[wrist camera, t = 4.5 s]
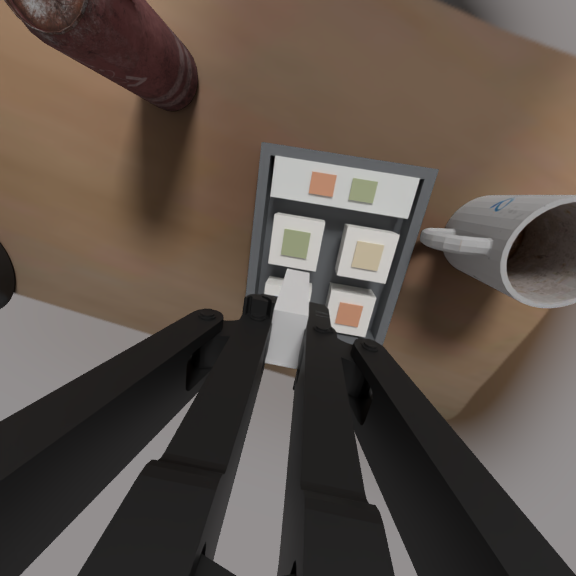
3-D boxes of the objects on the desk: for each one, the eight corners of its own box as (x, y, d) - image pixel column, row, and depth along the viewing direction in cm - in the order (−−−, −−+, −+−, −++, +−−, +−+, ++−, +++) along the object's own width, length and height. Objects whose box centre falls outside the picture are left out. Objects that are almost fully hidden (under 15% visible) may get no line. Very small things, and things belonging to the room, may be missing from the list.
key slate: (264, 313, 32) (259, 325, 30) (269, 275, 31) (265, 283, 28) (304, 321, 32) (303, 333, 29) (311, 283, 31) (311, 292, 28)
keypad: (248, 313, 35) (241, 325, 32) (267, 147, 28) (261, 141, 25) (375, 337, 34) (382, 351, 31) (426, 172, 28) (440, 169, 24)
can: (211, 99, 27) (115, 11, 14) (158, 120, 28) (23, 56, 15) (188, 29, 26) (55, -147, 12) (132, 54, 27) (-44, -82, 14)
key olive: (272, 257, 30) (267, 263, 27) (278, 212, 28) (274, 214, 26) (315, 264, 30) (315, 272, 27) (324, 219, 28) (325, 222, 25)
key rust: (322, 319, 34) (322, 330, 31) (330, 282, 32) (331, 290, 29) (361, 326, 33) (365, 338, 31) (371, 289, 32) (376, 298, 29)
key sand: (334, 268, 30) (337, 275, 27) (344, 223, 28) (348, 226, 25) (379, 275, 30) (385, 284, 27) (391, 231, 28) (400, 235, 25)
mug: (543, 206, 28) (660, 212, 18) (501, 281, 31) (583, 320, 21) (429, 176, 28) (488, 167, 18) (398, 254, 31) (435, 280, 21)
